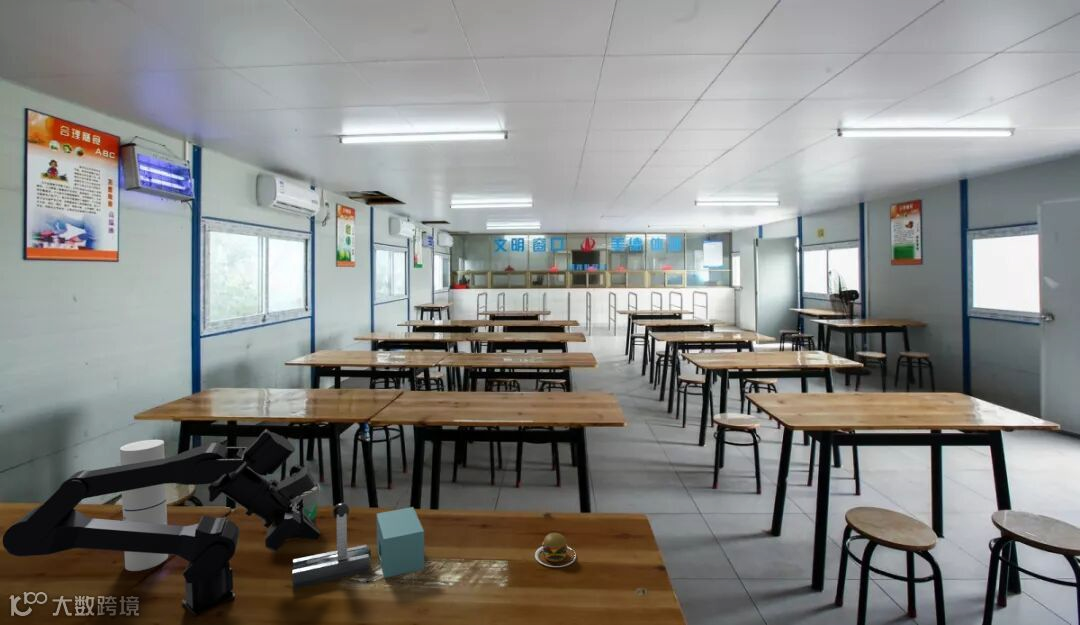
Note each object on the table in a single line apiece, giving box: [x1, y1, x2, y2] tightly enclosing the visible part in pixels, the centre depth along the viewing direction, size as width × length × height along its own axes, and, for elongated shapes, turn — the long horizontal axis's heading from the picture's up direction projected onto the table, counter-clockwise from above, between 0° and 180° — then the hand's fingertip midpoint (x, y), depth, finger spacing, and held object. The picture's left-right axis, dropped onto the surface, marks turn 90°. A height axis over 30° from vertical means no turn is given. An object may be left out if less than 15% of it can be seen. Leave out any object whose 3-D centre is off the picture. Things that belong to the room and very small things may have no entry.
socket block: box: [376, 506, 425, 579], centre depth 105 cm, size 8×12×8 cm, turn 25°
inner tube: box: [307, 502, 372, 567], centre depth 100 cm, size 12×3×13 cm, turn 115°
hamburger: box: [534, 532, 577, 568], centre depth 107 cm, size 12×12×6 cm
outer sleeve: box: [292, 544, 370, 590], centre depth 100 cm, size 14×5×3 cm, turn 115°
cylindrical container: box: [119, 439, 169, 572], centre depth 103 cm, size 7×7×25 cm
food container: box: [271, 481, 322, 540], centre depth 115 cm, size 12×6×10 cm, turn 143°
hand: (319, 536), depth 99 cm, fingers closed
